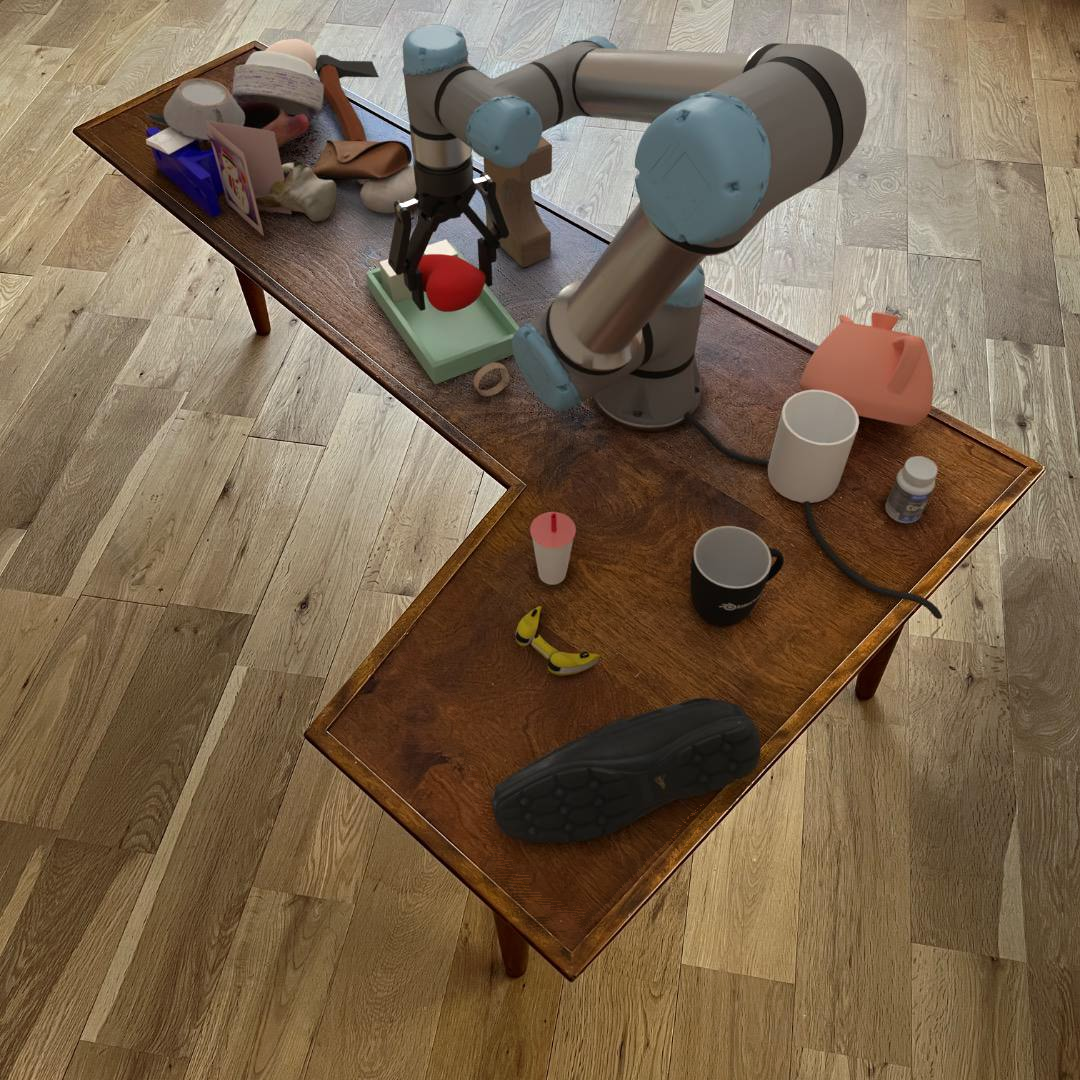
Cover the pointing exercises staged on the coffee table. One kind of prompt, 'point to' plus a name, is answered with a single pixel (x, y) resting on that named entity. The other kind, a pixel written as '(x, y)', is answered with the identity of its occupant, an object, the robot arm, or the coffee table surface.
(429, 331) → the ornament tray
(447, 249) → the cream block
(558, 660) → the yellow curved segmented toy
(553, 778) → the loafer
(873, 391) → the teapot
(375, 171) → the sunglasses case
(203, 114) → the bowl
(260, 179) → the greeting card
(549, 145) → the decorative block
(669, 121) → the robot arm
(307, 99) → the paper bowls
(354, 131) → the hand axe
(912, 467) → the pill bottle
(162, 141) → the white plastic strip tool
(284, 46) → the egg
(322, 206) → the ceramic sculpture
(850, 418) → the mug
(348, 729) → the coffee table surface
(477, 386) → the beige ring band
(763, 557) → the mug
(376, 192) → the decorative stone
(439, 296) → the heart
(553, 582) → the cup
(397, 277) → the beige short block
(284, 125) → the bowl
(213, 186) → the mounting bracket
